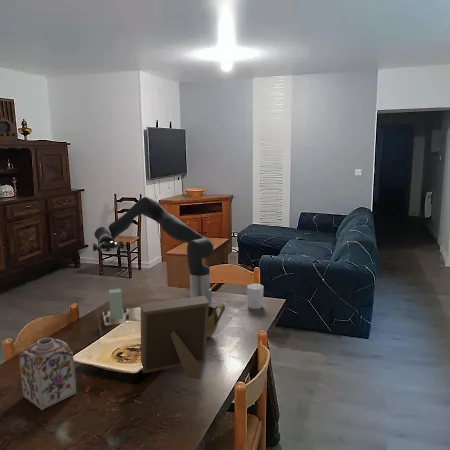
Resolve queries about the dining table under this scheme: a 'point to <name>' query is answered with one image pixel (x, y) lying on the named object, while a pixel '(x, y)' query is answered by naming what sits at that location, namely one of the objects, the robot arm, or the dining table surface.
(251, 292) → the white cup
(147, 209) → the robot arm
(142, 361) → the photo frame
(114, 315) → the green block
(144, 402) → the dining table surface
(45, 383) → the decorative jar
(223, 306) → the ceramic bowl
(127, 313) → the peg board
